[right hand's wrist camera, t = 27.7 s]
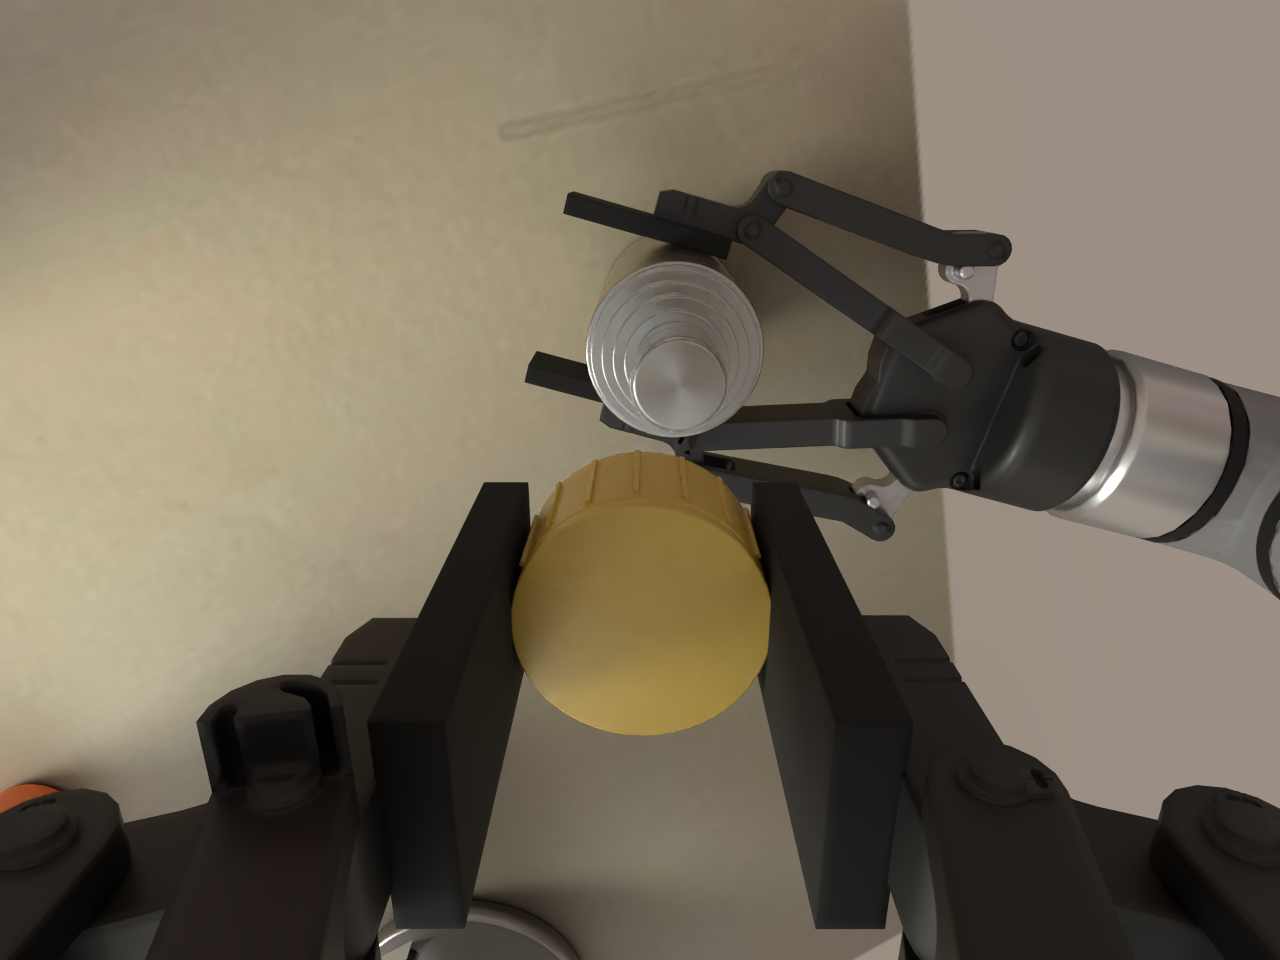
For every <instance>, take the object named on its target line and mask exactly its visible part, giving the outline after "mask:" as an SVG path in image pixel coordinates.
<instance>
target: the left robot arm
mask: <svg viewBox="0 0 1280 960" xmlns="http://www.w3.org/2000/svg"><path fill="white" fill-rule="evenodd" d="M786 208H789V209H791V210H794V211H797V212H799V213H802V214H805V215H807V216H810V217H813V218H815V219H818V220H820V221H823V222H826V223H828V224H831V225H834V226H836V227H839V228H842V229H844V230H847V231H850V232H852V233H855V234H858V235H860V236H863V237H865V238H868V239H871V240H873V241H876V242H879V243H881V244H884V245H887V246H889V247H892V248H895V249H897V250H900V251H902V252H905V253H908V254H910V255H913V256H916V257H919V258H922V259H926V260H929V261H932V262H935V263H938V264H939V265H938V272H939V275H940V277H941V278H942V279H943V280H945V281H947V282H950V283H952V284H955V285H957V286H958V288H959V289H960V292H961V298H960V299H957V300H954V301H952V302H949V303H946V304H943V305H941V306H938V307H935V308H932V309H930V310H927V311H924V312H921V313H918V314H916V315H913V316H910V317H907V318H905V317H904V316H902V315H901V314H899V313H898V312H896V311H895V310H893V309H892V308H890V307H889V306H887V305H886V304H884V303H883V302H882V301H880V300H879V299H877V298H876V297H875V296H873V295H872V294H870V293H869V292H868V291H866V290H865V289H863V288H862V287H860V286H859V285H858V284H856V283H855V282H853V281H852V280H851V279H849V278H848V277H846V276H845V275H843V274H842V273H841V272H839V271H838V270H836V269H835V268H834V267H832V266H831V265H829V264H828V263H826V262H825V261H824V260H822V259H821V258H819V257H818V256H817V255H815V254H814V253H812V252H811V251H809V250H808V249H807V248H805V247H804V246H802V245H801V244H800V243H798V242H797V241H795V240H794V239H792V238H791V237H790V236H788V235H787V234H785V233H784V232H783V231H781V230H780V229H778V228H777V227H776V226H774V224H775V222H776V221H777V220H778V218H779V217H780V216H781V214H782V213H783V212H784V210H785V209H786ZM563 214H567V215H570V216H574V217H577V218H581V219H584V220H588V221H591V222H595V223H599V224H602V225H606V226H609V227H613V228H616V229H620V230H623V231H627V232H630V233H634V234H637V235H641V236H644V237H648V238H651V239H655V240H658V241H662V242H665V243H669V244H672V245H676V246H679V247H683V248H686V249H690V250H694V251H697V252H700V253H704V254H707V255H711V256H714V257H718V258H721V259H725V260H726V259H727V256H728V253H729V249H730V246H731V243H732V241H734V242H738V243H741V244H744V245H746V246H747V247H748V248H750V249H751V250H753V251H754V252H756V253H757V254H759V255H760V256H761V257H763V258H764V259H766V260H767V261H769V262H770V263H771V264H773V265H774V266H776V267H777V268H779V269H780V270H782V271H783V272H784V273H786V274H787V275H789V276H790V277H792V278H793V279H794V280H796V281H797V282H799V283H800V284H802V285H803V286H805V287H806V288H807V289H809V290H810V291H812V292H813V293H815V294H816V295H818V296H819V297H820V298H822V299H823V300H825V301H826V302H828V303H829V304H830V305H832V306H833V307H835V308H836V309H838V310H839V311H841V312H842V313H843V314H845V315H846V316H848V317H849V318H851V319H852V320H853V321H855V322H856V323H858V324H859V325H861V326H862V327H864V328H865V329H866V330H868V331H869V332H871V333H872V334H873V335H875V336H874V339H873V341H872V344H871V347H870V349H869V352H868V361H867V370H866V372H865V374H864V375H863V377H862V378H861V379H860V381H859V382H858V384H857V385H856V387H855V389H854V392H853V395H852V397H851V399H833V400H828V401H827V402H824V403H807V404H783V405H760V406H742V407H741V408H740V409H739V410H738V411H737V412H736V413H735V414H734V415H733V416H731V417H730V418H729V419H728V420H726V421H725V422H723V423H722V424H720V425H718V426H717V427H715V428H713V429H710V430H708V431H706V432H703V433H700V434H696V435H692V436H686V437H661V436H656V435H651V434H648V433H645V432H642V431H639V430H637V429H635V428H633V427H631V426H629V425H628V424H626V423H625V422H623V421H622V420H620V419H619V418H618V417H617V416H615V415H614V414H613V413H612V412H611V411H610V410H609V409H608V408H607V406H606V405H605V404H604V403H603V401H602V400H601V398H600V397H599V396H598V394H597V392H596V390H595V388H594V386H593V384H592V381H591V378H590V375H589V372H588V367H587V364H583V363H580V362H576V361H572V360H568V359H565V358H561V357H557V356H554V355H550V354H546V353H542V352H539V351H536V353H535V355H534V356H533V358H532V360H531V362H530V363H529V365H528V370H527V374H526V378H525V382H526V383H530V384H533V385H537V386H541V387H545V388H548V389H552V390H556V391H560V392H564V393H567V394H571V395H575V396H579V397H582V398H586V399H590V400H594V401H598V402H601V403H603V407H602V410H601V416H600V421H601V422H603V423H604V424H606V425H607V426H608V427H610V428H613V429H617V430H621V431H625V432H629V433H633V434H636V435H640V436H644V437H648V438H652V439H655V440H659V441H663V442H665V443H667V444H669V445H670V446H671V447H672V448H673V450H674V452H675V456H676V457H680V456H682V457H684V458H685V460H687V461H690V462H692V463H694V464H696V465H698V466H700V467H702V468H704V469H706V470H707V471H708V472H710V473H711V474H713V475H714V476H716V477H718V476H720V477H721V478H722V480H723V483H724V484H725V485H726V486H727V487H728V488H729V489H730V491H731V492H732V493H733V494H734V495H735V496H736V498H737V499H738V501H739V502H741V503H746V504H751V499H752V482H796V483H797V485H798V487H799V489H800V491H801V493H802V495H803V497H804V499H805V501H806V503H807V505H808V507H809V509H810V511H811V513H812V515H813V516H816V517H821V518H826V519H832V520H837V521H842V522H844V523H846V524H847V525H849V526H851V527H853V528H854V529H856V530H858V531H859V532H861V533H863V534H865V535H866V536H868V537H870V538H871V539H873V540H876V541H885V540H887V539H889V538H890V537H891V536H892V535H893V533H894V531H895V524H894V522H893V520H892V517H893V516H894V515H895V513H896V512H897V511H898V509H899V508H900V507H901V506H902V504H903V503H904V502H905V500H906V499H907V498H908V497H909V495H910V494H911V493H912V491H926V490H930V489H935V488H950V489H954V490H957V491H961V492H964V493H968V494H972V495H976V496H979V497H983V498H987V499H991V500H995V501H998V502H1002V503H1006V504H1010V505H1013V506H1017V507H1021V508H1025V509H1028V510H1033V511H1044V510H1046V511H1047V512H1048V513H1049V514H1050V515H1052V516H1055V517H1058V518H1061V519H1065V520H1069V521H1073V522H1077V523H1081V524H1085V525H1089V526H1093V527H1097V528H1101V529H1105V530H1109V531H1113V532H1117V533H1121V534H1125V535H1129V536H1133V537H1138V538H1141V539H1144V540H1148V541H1151V542H1155V543H1160V544H1163V545H1167V546H1171V547H1174V548H1178V549H1181V550H1185V551H1188V552H1192V553H1195V554H1198V555H1202V556H1205V557H1209V558H1212V559H1215V560H1217V561H1220V562H1222V563H1224V564H1227V565H1229V566H1231V567H1233V568H1235V569H1236V570H1238V571H1240V572H1241V573H1243V574H1244V575H1246V576H1247V577H1249V578H1250V579H1251V580H1253V581H1255V582H1256V583H1257V584H1259V585H1260V586H1262V587H1263V588H1265V589H1266V590H1267V591H1269V592H1270V593H1272V594H1273V595H1275V596H1276V597H1277V598H1278V599H1279V600H1280V397H1277V396H1273V395H1270V394H1266V393H1262V392H1258V391H1254V390H1250V389H1246V388H1243V387H1239V386H1235V385H1231V384H1227V383H1223V382H1221V381H1219V380H1216V379H1214V378H1210V377H1208V376H1205V375H1202V374H1199V373H1195V372H1192V371H1188V370H1185V369H1182V368H1178V367H1175V366H1171V365H1168V364H1164V363H1161V362H1157V361H1154V360H1151V359H1147V358H1144V357H1140V356H1137V355H1133V354H1130V353H1126V352H1123V351H1117V350H1107V351H1106V350H1105V349H1103V348H1102V347H1101V346H1099V345H1097V344H1095V343H1091V342H1088V341H1084V340H1081V339H1077V338H1074V337H1070V336H1067V335H1064V334H1060V333H1057V332H1053V331H1050V330H1046V329H1043V328H1039V327H1036V326H1032V325H1029V324H1025V323H1022V322H1018V321H1015V320H1013V319H1011V318H1010V317H1009V316H1008V315H1007V314H1006V313H1005V312H1004V311H1003V309H1002V308H1001V307H1000V306H999V305H997V304H996V303H994V302H993V297H994V290H995V282H996V275H997V268H998V265H1001V264H1003V263H1004V262H1006V261H1007V259H1008V258H1009V257H1010V254H1011V251H1012V245H1011V242H1010V240H1009V239H1008V238H1007V237H1006V236H1004V235H999V234H995V233H989V232H983V231H978V230H941V229H938V228H936V227H933V226H931V225H928V224H925V223H923V222H920V221H917V220H915V219H912V218H910V217H907V216H904V215H902V214H899V213H897V212H894V211H891V210H889V209H886V208H884V207H881V206H878V205H876V204H873V203H871V202H868V201H865V200H863V199H860V198H858V197H855V196H852V195H850V194H847V193H844V192H842V191H839V190H837V189H834V188H831V187H829V186H826V185H824V184H821V183H818V182H816V181H813V180H811V179H808V178H805V177H803V176H800V175H798V174H795V173H792V172H789V171H771V172H769V173H767V174H766V175H765V176H764V177H763V179H762V180H761V183H760V185H759V186H758V188H757V189H756V190H755V192H754V193H753V195H752V196H751V197H750V198H749V200H748V201H747V202H745V203H744V204H742V205H739V206H729V205H725V204H722V203H718V202H715V201H711V200H708V199H705V198H701V197H698V196H694V195H691V194H687V193H684V192H680V191H677V190H674V189H672V190H664V191H660V192H659V196H658V200H657V204H656V207H655V211H654V214H650V213H647V212H643V211H640V210H637V209H633V208H630V207H626V206H623V205H619V204H616V203H612V202H609V201H605V200H602V199H598V198H595V197H591V196H588V195H584V194H581V193H577V192H574V191H573V192H570V193H568V195H567V199H566V204H565V208H564V212H563ZM809 446H838V447H842V448H847V449H855V448H873V449H874V450H875V452H876V453H877V454H878V456H879V457H880V458H881V460H882V461H883V462H884V464H885V465H886V466H887V468H888V469H889V471H890V473H889V474H888V475H887V476H886V477H884V478H881V479H872V478H869V477H863V478H859V479H857V480H856V481H855V482H854V484H851V483H850V482H848V481H845V480H843V479H840V478H837V477H834V476H830V475H825V474H820V473H814V472H809V471H804V470H799V469H793V468H788V467H783V466H778V465H772V464H767V463H762V462H756V461H751V460H746V459H741V458H735V457H730V456H725V455H720V454H714V453H709V452H704V451H712V450H736V449H761V448H785V447H809ZM378 939H379V945H380V952H381V960H578V958H577V956H576V954H575V953H574V951H573V950H572V948H571V947H570V946H569V944H568V943H567V942H566V941H565V940H564V939H563V938H562V937H561V936H560V935H559V934H558V933H557V932H556V931H555V930H554V929H552V928H551V927H550V926H548V925H547V924H545V923H544V922H542V921H541V920H539V919H537V918H535V917H533V916H531V915H529V914H527V913H525V912H523V911H520V910H518V909H515V908H512V907H509V906H505V905H501V904H497V903H491V902H485V901H475V900H471V904H470V909H469V913H468V918H467V922H466V926H465V929H396V927H395V920H392V921H391V922H390V923H388V924H387V925H386V926H385V927H384V928H383V929H382V930H381V931H380V932H379V933H378Z"/></svg>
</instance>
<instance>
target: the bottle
mask: <svg viewBox="0 0 1280 960" xmlns="http://www.w3.org/2000/svg"><path fill="white" fill-rule="evenodd" d="M763 356H764V340H763V333H762V328H761V324H760V321H759V318H758V316H757V313H756V311H755V309H754V307H753V305H752V304H751V302H750V300H749V299H748V297H747V296H746V295H745V293H744V292H743V291H742V289H741V288H740V287H739V286H738V284H737V283H736V282H735V280H734V279H733V278H732V276H731V275H730V274H729V273H728V271H727V270H726V269H725V267H724V266H723V265H722V264H721V262H720V261H719V260H718V258H717V257H714V256H711V255H707V254H704V253H700V252H697V251H694V250H690V249H686V248H683V247H679V246H676V245H672V244H669V243H665V242H662V241H658V240H655V239H651V238H648V237H643V238H641V239H639V240H637V241H635V242H634V243H632V244H631V245H629V246H628V247H627V248H626V249H625V250H624V251H623V252H622V253H621V254H620V255H619V256H618V257H617V259H616V260H615V262H614V263H613V265H612V267H611V269H610V271H609V274H608V276H607V279H606V282H605V284H604V287H603V290H602V292H601V295H600V298H599V300H598V303H597V306H596V308H595V311H594V314H593V316H592V319H591V322H590V325H589V329H588V334H587V339H586V361H587V367H588V372H589V375H590V378H591V381H592V384H593V386H594V388H595V390H596V392H597V394H598V396H599V397H600V398H601V400H602V401H603V403H604V404H605V405H606V406H607V408H608V409H609V410H610V411H611V412H612V413H613V414H614V415H615V416H617V417H618V418H619V419H620V420H622V421H623V422H625V423H626V424H628V425H629V426H631V427H633V428H635V429H637V430H639V431H642V432H645V433H648V434H651V435H656V436H661V437H686V436H692V435H696V434H700V433H703V432H706V431H708V430H710V429H713V428H715V427H717V426H718V425H720V424H722V423H723V422H725V421H726V420H728V419H729V418H730V417H731V416H733V415H734V414H735V413H736V412H737V411H738V410H739V409H740V408H741V407H742V406H743V404H744V403H745V402H746V400H747V399H748V398H749V396H750V395H751V393H752V391H753V389H754V388H755V385H756V383H757V381H758V378H759V376H760V372H761V368H762V363H763Z"/></svg>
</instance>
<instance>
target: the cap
mask: <svg viewBox="0 0 1280 960" xmlns="http://www.w3.org/2000/svg"><path fill="white" fill-rule="evenodd" d="M760 558H761V553H760V550H759V546H758V543H757V539H756V536H755V532H754V529H753V526H752V522H751V519H750V515H749V512H748V509H747V508H746V507H745V508H743V507H742V506H741V504H740V502H739V501H738V499H737V498H736V496H735V495H734V494H733V493H732V492H731V491H730V489H729V488H728V487H727V486H726V485H725V484H724V483H723V480H722V478H721V477H720V476H718V477H716V476H714V475H713V474H711V473H710V472H708V471H707V470H706V469H704V468H702V467H700V466H698V465H696V464H694V463H692V462H690V461H687V460H685V458H684V457H682V456H680V457H676V456H671V455H666V454H662V453H651V452H640V450H636V451H635V452H632V453H625V454H618V455H614V456H610V457H607V458H603V459H600V460H598V461H597V459H595V460H593V461H592V463H591V464H589V465H587V466H585V467H583V468H582V469H580V470H578V471H577V472H575V473H574V474H572V475H571V476H570V477H569V478H567V479H566V480H565V481H564V482H562V483H561V482H559V483H558V484H557V485H556V488H555V491H554V492H553V493H552V494H551V496H550V497H549V499H548V500H547V501H546V503H545V504H544V506H543V508H542V510H541V512H540V514H539V516H538V515H535V517H534V519H533V522H532V525H531V529H530V532H529V535H528V538H527V541H526V544H525V547H524V550H523V553H522V556H521V559H520V563H519V566H521V567H522V568H521V571H520V575H519V578H518V581H517V584H516V587H515V591H514V595H513V600H512V605H511V623H512V638H513V643H514V647H515V651H516V654H517V656H518V659H519V661H520V663H521V666H522V668H523V669H524V671H525V673H526V674H527V676H528V678H529V679H530V681H531V682H532V683H533V684H534V686H535V687H536V688H537V689H538V691H539V692H540V693H541V694H542V695H543V696H544V697H545V698H546V699H547V700H548V701H549V702H550V703H552V704H553V705H554V706H556V707H557V708H558V709H560V710H561V711H562V712H564V713H566V714H567V715H569V716H571V717H572V718H574V719H576V720H578V721H580V722H583V723H585V724H587V725H589V726H592V727H595V728H598V729H602V730H605V731H609V732H614V733H619V734H628V735H658V734H665V733H672V732H676V731H680V730H684V729H687V728H690V727H693V726H695V725H698V724H701V723H703V722H705V721H707V720H709V719H711V718H713V717H715V716H716V715H718V714H719V713H721V712H722V711H724V710H725V709H727V708H728V707H730V706H731V705H732V704H733V703H734V702H735V701H737V700H738V699H739V698H740V697H741V696H742V695H743V694H744V693H745V691H746V690H747V689H748V688H749V687H750V686H751V684H752V683H753V681H754V680H755V678H756V677H757V676H758V674H759V672H760V670H761V668H762V666H763V664H764V662H765V660H766V658H767V654H768V639H769V624H770V608H771V595H770V592H769V588H768V585H767V581H766V578H765V574H764V571H763V567H762V564H761V560H760Z"/></svg>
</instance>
